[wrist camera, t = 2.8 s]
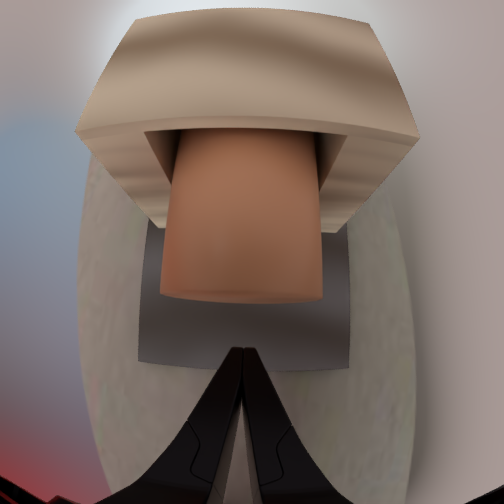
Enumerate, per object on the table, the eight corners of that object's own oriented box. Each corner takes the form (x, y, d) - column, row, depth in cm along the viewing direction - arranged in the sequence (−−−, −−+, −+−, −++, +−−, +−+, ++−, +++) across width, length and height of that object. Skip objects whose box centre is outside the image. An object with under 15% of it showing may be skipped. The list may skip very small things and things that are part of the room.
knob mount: (343, 365, 17) (459, 411, 6) (143, 359, 17) (21, 393, 6) (331, 135, 22) (377, 19, 10) (169, 131, 22) (128, 15, 10)
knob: (305, 304, 13) (345, 291, 8) (181, 300, 13) (133, 284, 8) (301, 174, 15) (326, 100, 9) (193, 171, 15) (168, 97, 9)
